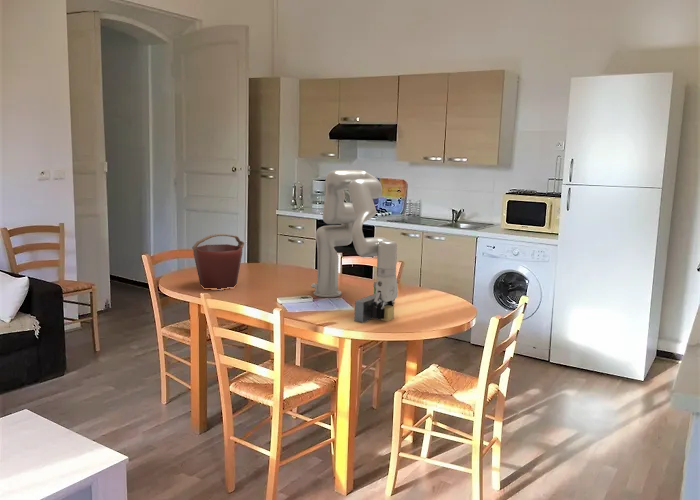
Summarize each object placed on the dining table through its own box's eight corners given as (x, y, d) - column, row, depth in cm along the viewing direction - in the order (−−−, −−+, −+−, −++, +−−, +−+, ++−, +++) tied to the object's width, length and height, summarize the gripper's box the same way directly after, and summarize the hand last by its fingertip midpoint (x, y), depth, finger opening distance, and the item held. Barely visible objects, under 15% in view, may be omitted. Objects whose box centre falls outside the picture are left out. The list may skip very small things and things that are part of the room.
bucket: (243, 280, 307) (242, 231, 302) (248, 291, 286) (248, 237, 281) (192, 282, 300) (191, 231, 296) (193, 293, 279) (192, 238, 275)
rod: (357, 315, 249) (357, 303, 248) (363, 312, 253) (364, 300, 252) (387, 321, 242) (388, 308, 241) (393, 318, 246) (394, 306, 245)
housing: (354, 320, 241) (354, 300, 239) (380, 310, 257) (380, 291, 256) (363, 322, 239) (363, 302, 237) (388, 311, 255) (389, 292, 254)
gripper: (383, 276, 232) (382, 322, 235) (405, 269, 247) (403, 313, 250) (366, 274, 236) (365, 319, 239) (388, 267, 251) (387, 310, 254)
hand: (385, 315), depth 245 cm, fingers open, 6 cm apart
